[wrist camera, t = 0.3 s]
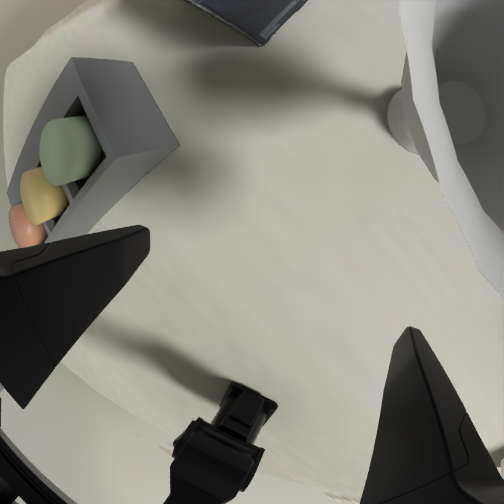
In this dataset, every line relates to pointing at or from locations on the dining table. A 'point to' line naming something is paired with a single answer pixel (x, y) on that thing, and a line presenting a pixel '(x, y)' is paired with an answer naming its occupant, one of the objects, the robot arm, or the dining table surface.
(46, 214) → the button ochre
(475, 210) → the chalice
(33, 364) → the robot arm
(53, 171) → the button sage
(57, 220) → the grey compartment box
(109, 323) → the dining table surface
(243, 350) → the dining table surface
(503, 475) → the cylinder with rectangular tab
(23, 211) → the button terracotta
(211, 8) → the small box
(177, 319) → the dining table surface
